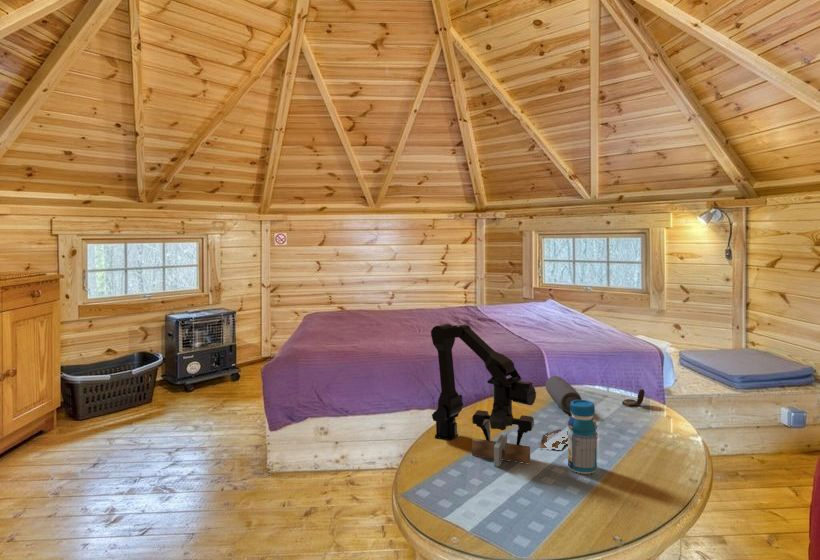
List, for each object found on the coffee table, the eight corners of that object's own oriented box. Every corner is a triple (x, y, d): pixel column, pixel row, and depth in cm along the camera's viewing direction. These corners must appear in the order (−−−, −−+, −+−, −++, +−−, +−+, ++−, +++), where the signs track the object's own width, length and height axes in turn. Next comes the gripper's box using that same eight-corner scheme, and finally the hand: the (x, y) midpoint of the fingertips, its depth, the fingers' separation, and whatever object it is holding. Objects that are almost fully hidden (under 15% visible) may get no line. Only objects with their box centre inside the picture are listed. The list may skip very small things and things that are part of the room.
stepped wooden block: (472, 455, 153) (472, 440, 153) (473, 453, 155) (473, 438, 154) (529, 464, 146) (529, 448, 146) (530, 462, 147) (530, 446, 147)
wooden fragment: (555, 455, 152) (555, 452, 152) (526, 444, 160) (526, 441, 160) (595, 432, 169) (595, 429, 169) (566, 424, 178) (566, 421, 178)
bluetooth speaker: (584, 415, 185) (584, 390, 184) (559, 416, 185) (559, 391, 184) (565, 396, 208) (565, 374, 207) (544, 397, 208) (544, 374, 207)
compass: (624, 401, 200) (625, 384, 200) (645, 405, 195) (645, 387, 195) (618, 406, 195) (618, 388, 194) (638, 410, 189) (639, 392, 189)
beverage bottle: (583, 477, 137) (583, 409, 135) (561, 466, 144) (561, 401, 143) (603, 470, 141) (604, 404, 139) (581, 459, 148) (581, 396, 147)
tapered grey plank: (494, 466, 146) (493, 446, 145) (502, 450, 157) (502, 432, 156) (498, 466, 145) (498, 447, 145) (507, 450, 156) (507, 432, 155)
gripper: (467, 403, 149) (467, 452, 150) (528, 410, 141) (528, 461, 142) (476, 392, 159) (477, 438, 160) (534, 398, 151) (534, 446, 152)
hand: (503, 446), depth 153 cm, fingers open, 9 cm apart
